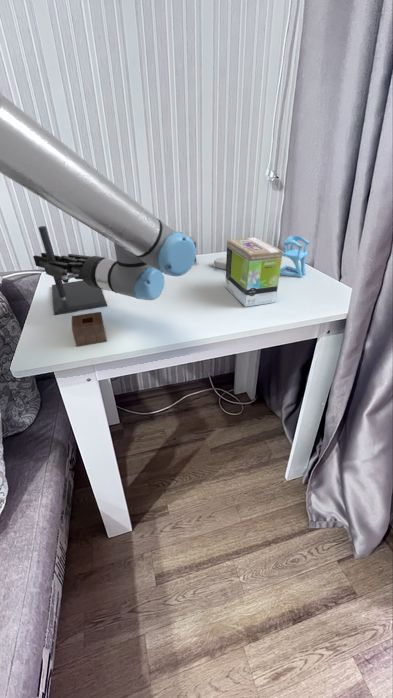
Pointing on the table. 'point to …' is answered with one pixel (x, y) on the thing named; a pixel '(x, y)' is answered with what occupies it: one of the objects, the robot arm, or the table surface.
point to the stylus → (51, 255)
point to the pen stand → (88, 329)
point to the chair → (295, 256)
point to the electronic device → (220, 263)
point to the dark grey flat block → (77, 298)
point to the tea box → (252, 270)
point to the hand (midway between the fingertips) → (39, 259)
